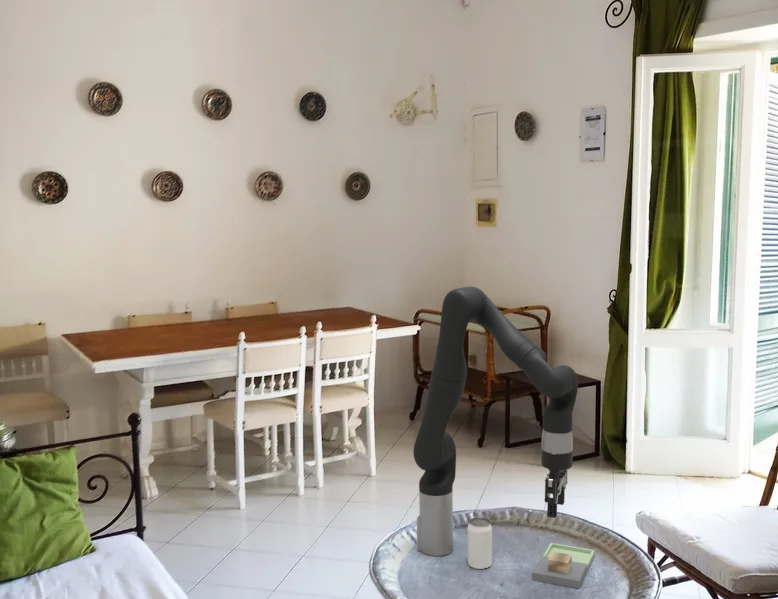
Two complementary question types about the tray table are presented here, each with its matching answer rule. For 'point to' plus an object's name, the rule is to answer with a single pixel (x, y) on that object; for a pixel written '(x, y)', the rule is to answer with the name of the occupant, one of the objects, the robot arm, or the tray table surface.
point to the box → (572, 553)
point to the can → (479, 543)
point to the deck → (560, 574)
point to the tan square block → (559, 562)
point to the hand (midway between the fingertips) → (555, 510)
